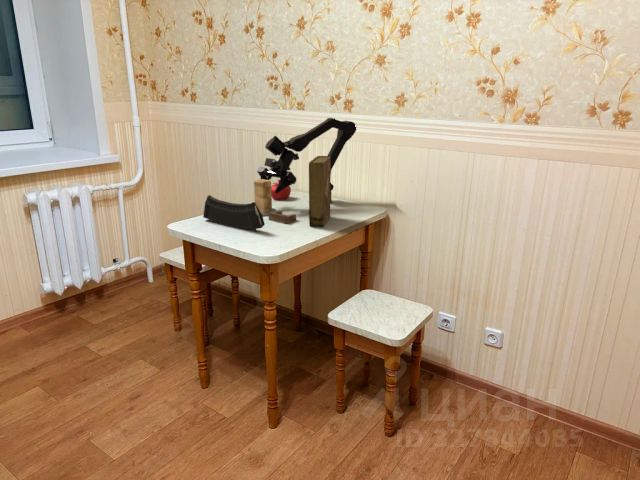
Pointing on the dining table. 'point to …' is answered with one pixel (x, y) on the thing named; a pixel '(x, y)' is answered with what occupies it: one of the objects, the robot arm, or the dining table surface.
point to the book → (319, 190)
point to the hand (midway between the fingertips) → (267, 191)
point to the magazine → (233, 214)
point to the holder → (281, 217)
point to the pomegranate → (282, 194)
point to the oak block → (263, 195)
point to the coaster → (269, 212)
